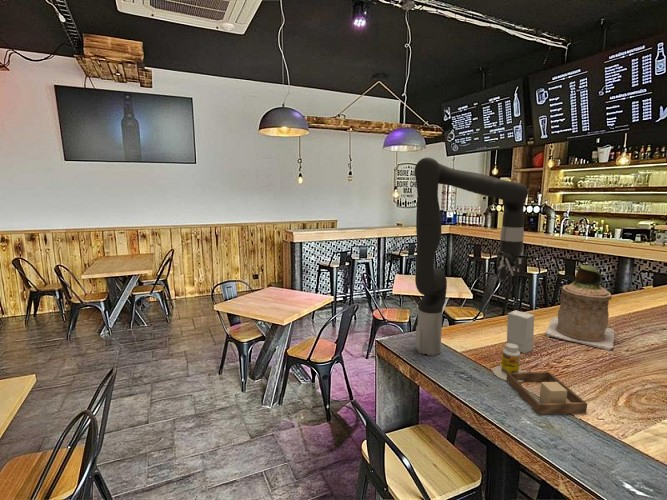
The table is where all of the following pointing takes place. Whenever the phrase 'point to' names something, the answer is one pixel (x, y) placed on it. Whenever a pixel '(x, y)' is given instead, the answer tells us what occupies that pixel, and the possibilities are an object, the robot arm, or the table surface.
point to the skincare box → (520, 330)
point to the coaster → (501, 375)
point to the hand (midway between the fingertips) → (507, 282)
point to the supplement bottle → (510, 359)
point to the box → (552, 393)
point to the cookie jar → (584, 311)
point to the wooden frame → (546, 408)
